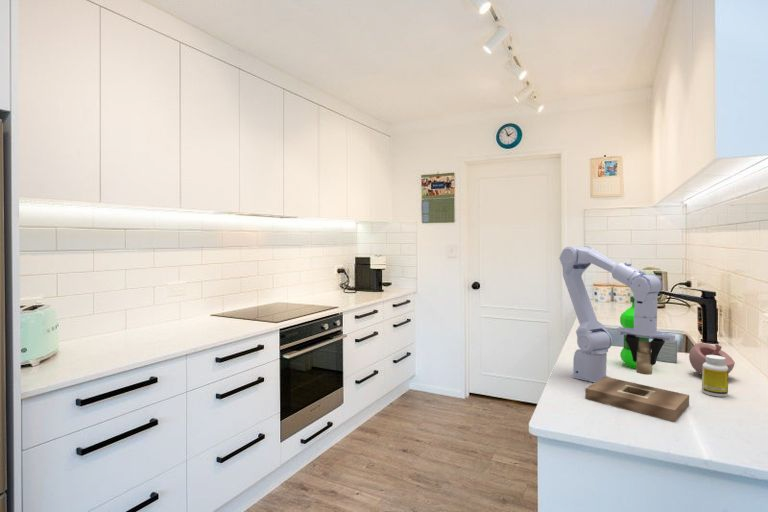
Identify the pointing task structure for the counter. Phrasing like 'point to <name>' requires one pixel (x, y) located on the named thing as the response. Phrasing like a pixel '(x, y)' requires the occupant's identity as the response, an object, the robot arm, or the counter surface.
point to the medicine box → (668, 352)
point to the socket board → (638, 398)
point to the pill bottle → (715, 376)
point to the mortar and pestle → (701, 350)
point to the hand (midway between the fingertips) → (644, 362)
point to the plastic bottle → (626, 322)
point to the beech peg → (644, 358)
